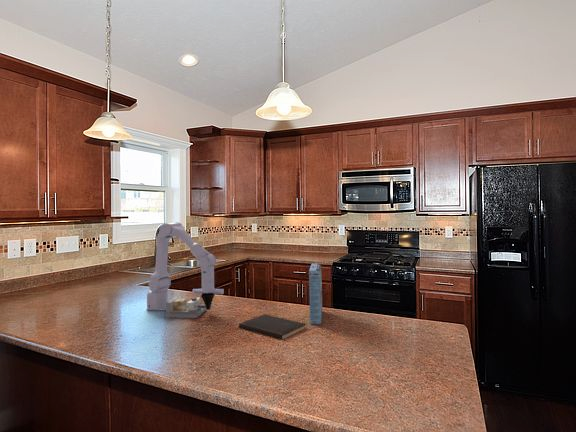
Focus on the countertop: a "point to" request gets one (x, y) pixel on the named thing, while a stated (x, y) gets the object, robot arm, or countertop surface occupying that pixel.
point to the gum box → (315, 293)
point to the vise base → (182, 314)
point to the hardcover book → (272, 326)
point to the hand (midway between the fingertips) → (208, 309)
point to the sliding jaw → (194, 304)
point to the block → (180, 305)
